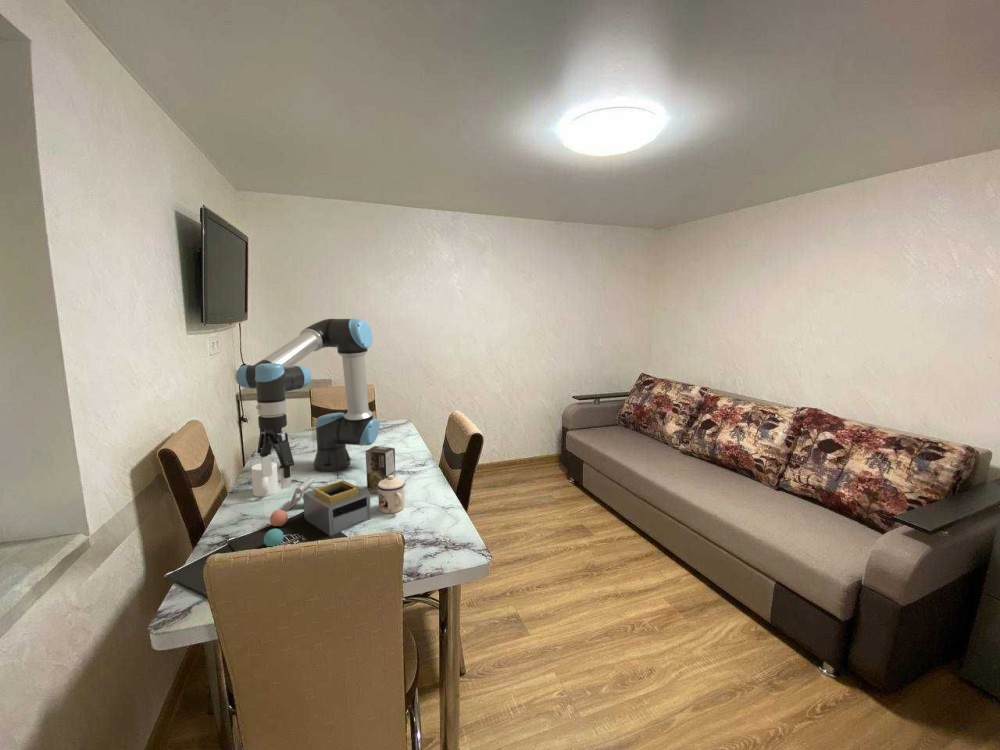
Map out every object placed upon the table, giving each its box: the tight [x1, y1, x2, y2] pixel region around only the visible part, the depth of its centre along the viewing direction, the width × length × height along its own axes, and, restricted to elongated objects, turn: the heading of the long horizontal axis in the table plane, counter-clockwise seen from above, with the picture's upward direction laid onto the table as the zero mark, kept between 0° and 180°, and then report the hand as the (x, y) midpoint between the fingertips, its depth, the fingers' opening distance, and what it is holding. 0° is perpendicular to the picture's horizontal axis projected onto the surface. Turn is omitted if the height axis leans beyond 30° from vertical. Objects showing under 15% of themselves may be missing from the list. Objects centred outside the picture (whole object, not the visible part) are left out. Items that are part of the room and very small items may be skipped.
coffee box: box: [365, 445, 397, 494], centre depth 156 cm, size 9×6×16 cm
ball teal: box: [263, 528, 285, 548], centre depth 118 cm, size 5×5×5 cm
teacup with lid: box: [377, 475, 406, 514], centre depth 141 cm, size 12×9×12 cm
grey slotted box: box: [302, 480, 372, 537], centre depth 133 cm, size 16×14×10 cm
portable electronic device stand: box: [282, 477, 315, 512], centre depth 143 cm, size 9×8×8 cm
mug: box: [250, 461, 279, 497], centre depth 152 cm, size 8×10×12 cm
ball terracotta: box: [269, 509, 289, 527], centre depth 129 cm, size 5×5×5 cm
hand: (276, 481), depth 128 cm, fingers open, 13 cm apart
